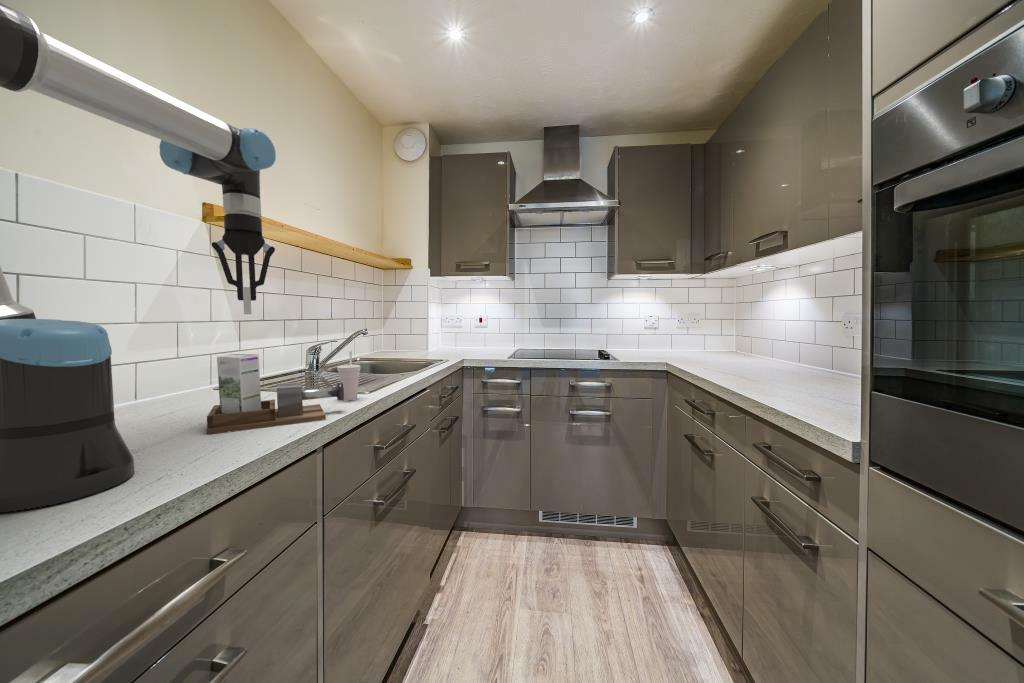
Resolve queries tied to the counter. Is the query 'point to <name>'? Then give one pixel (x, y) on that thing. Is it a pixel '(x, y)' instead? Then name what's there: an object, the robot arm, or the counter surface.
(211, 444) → the counter surface
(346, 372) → the smoothie
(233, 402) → the syrup box
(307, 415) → the jig
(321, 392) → the shaft
